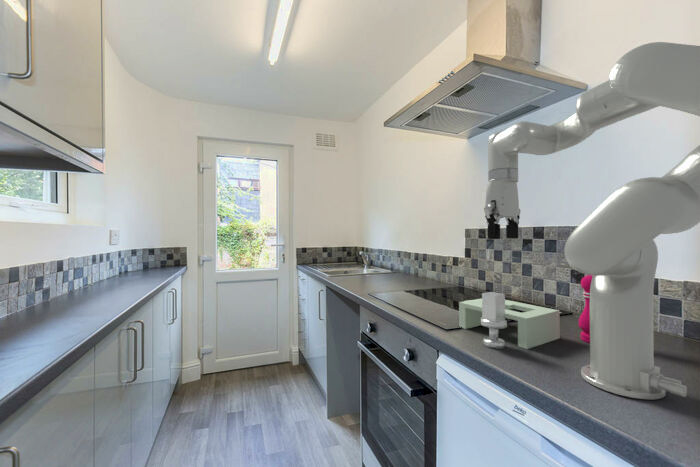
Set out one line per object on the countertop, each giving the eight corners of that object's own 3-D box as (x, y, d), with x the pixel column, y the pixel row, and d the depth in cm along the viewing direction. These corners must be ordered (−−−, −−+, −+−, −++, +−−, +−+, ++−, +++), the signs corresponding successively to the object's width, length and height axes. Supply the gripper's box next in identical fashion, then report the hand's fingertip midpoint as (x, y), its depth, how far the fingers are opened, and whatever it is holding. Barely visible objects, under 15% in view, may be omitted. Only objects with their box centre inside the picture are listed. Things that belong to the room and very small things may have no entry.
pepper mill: (581, 343, 83) (580, 270, 83) (576, 335, 90) (575, 267, 90) (615, 347, 80) (614, 271, 80) (607, 339, 86) (606, 268, 86)
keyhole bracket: (559, 338, 87) (559, 310, 87) (526, 349, 79) (526, 318, 79) (491, 319, 106) (490, 296, 106) (459, 327, 99) (459, 302, 99)
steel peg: (512, 347, 81) (511, 294, 81) (497, 351, 78) (496, 297, 78) (490, 339, 87) (490, 290, 87) (475, 344, 83) (475, 292, 83)
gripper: (505, 182, 93) (506, 238, 93) (472, 176, 83) (473, 239, 83) (531, 178, 87) (532, 238, 87) (499, 171, 77) (500, 239, 77)
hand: (503, 238), depth 85 cm, fingers open, 9 cm apart
